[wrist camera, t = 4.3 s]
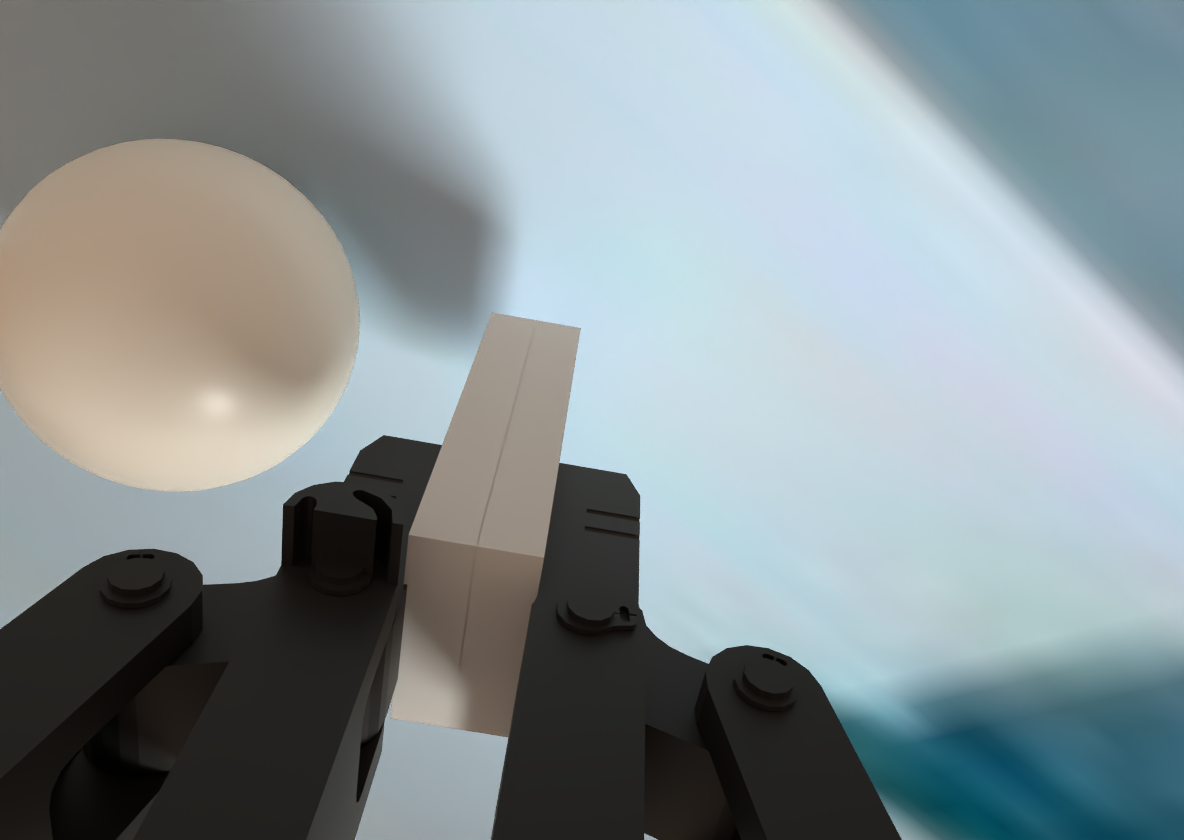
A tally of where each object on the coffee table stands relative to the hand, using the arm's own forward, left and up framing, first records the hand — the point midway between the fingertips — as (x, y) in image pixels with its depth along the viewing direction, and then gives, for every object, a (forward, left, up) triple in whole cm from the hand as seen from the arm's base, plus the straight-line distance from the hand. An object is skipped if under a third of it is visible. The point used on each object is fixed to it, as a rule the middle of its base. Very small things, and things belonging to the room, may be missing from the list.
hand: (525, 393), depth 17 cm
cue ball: (+2, +5, +1) cm, 6 cm away
